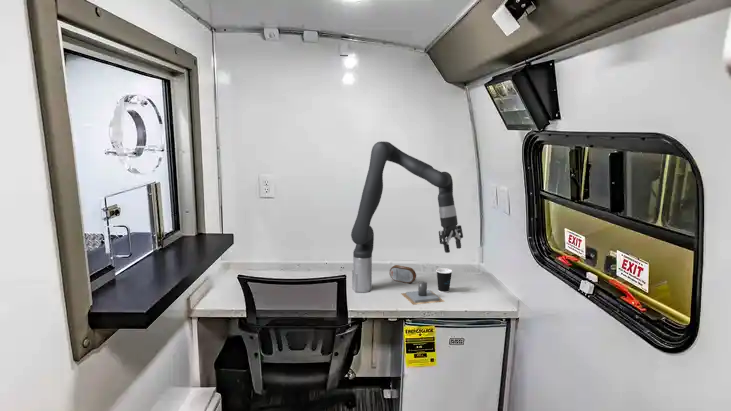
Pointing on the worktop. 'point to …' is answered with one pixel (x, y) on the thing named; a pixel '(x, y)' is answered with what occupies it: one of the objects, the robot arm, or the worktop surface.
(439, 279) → the dixie cup
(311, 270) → the worktop surface
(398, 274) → the tin
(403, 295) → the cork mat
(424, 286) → the lid
